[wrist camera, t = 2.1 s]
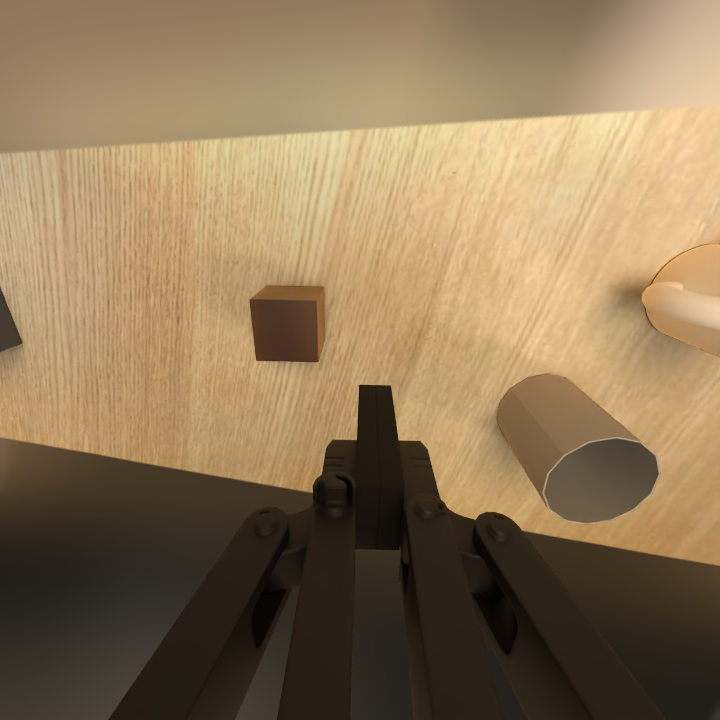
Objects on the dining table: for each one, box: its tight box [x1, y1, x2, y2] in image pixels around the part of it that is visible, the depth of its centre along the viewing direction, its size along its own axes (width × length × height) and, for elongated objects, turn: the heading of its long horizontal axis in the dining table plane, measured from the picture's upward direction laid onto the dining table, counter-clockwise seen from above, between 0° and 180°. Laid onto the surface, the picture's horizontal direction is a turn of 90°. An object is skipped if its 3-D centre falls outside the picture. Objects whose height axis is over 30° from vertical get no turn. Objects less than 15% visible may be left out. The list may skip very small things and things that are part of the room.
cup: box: [497, 374, 661, 525], centre depth 30 cm, size 8×8×10 cm
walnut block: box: [250, 286, 325, 362], centre depth 29 cm, size 5×5×5 cm
